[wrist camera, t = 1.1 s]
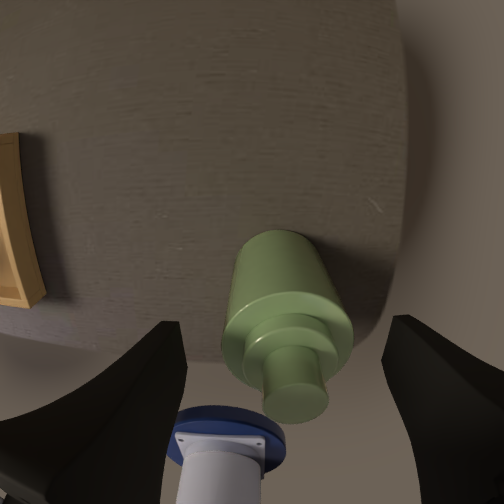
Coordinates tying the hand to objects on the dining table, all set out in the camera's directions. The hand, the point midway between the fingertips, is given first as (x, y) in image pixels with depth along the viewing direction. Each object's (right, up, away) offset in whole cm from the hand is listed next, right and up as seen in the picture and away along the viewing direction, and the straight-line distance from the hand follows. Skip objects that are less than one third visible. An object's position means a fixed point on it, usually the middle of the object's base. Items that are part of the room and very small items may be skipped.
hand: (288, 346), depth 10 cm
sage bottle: (0, +2, +5) cm, 6 cm away
